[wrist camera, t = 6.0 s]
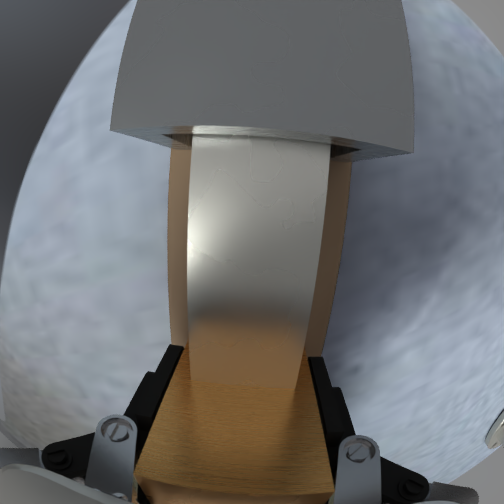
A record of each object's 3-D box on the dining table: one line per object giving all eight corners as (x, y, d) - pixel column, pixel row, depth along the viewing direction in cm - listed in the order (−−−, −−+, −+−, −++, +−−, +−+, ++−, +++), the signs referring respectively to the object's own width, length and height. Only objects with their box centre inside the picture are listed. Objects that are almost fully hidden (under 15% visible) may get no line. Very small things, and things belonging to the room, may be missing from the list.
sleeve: (345, -4, 7) (379, -69, 3) (346, 162, 9) (413, 153, 5) (201, -14, 7) (175, -83, 3) (176, 149, 9) (109, 130, 5)
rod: (326, 138, 9) (449, 72, 2) (277, 444, 13) (281, 549, 6) (199, 129, 9) (82, 46, 2) (200, 437, 13) (177, 541, 6)
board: (343, 10, 8) (350, -3, 7) (291, 438, 15) (292, 452, 13) (201, -1, 8) (196, -14, 7) (188, 430, 15) (184, 443, 13)
